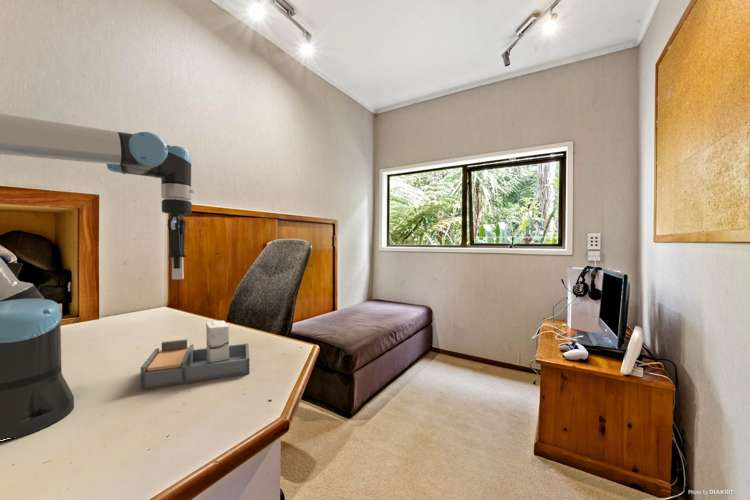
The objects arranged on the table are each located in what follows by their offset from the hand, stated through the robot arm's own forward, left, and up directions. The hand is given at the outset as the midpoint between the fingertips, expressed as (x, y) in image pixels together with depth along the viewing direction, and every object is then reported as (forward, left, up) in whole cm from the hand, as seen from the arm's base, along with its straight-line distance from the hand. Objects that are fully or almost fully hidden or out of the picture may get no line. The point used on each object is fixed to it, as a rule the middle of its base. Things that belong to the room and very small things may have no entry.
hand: (177, 279), depth 92 cm
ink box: (+11, -12, -24) cm, 29 cm away
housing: (+7, -12, -24) cm, 28 cm away
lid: (0, -12, -20) cm, 23 cm away
